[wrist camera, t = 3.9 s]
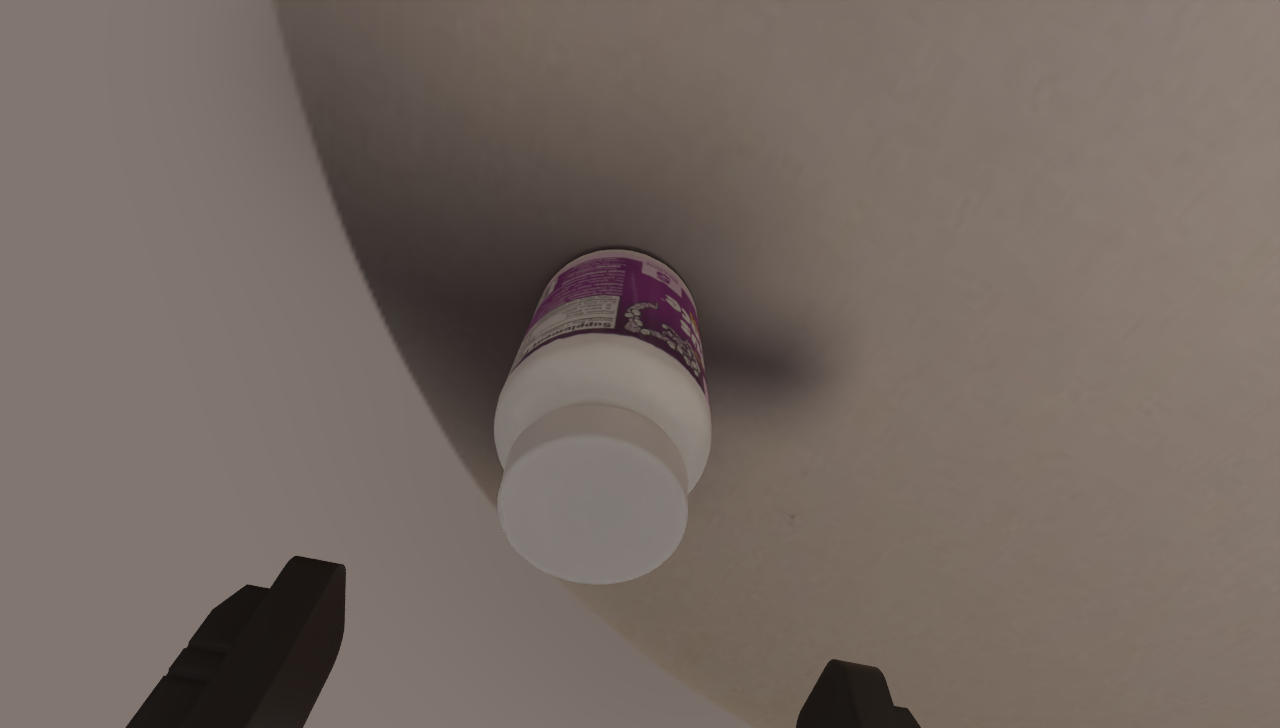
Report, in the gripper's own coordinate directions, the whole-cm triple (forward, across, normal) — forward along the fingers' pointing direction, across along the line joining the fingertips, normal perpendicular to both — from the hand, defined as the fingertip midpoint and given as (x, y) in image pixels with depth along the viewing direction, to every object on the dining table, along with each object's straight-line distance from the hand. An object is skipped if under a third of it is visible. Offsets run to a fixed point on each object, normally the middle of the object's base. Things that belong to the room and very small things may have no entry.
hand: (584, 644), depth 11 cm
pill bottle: (+13, 0, 0) cm, 13 cm away
